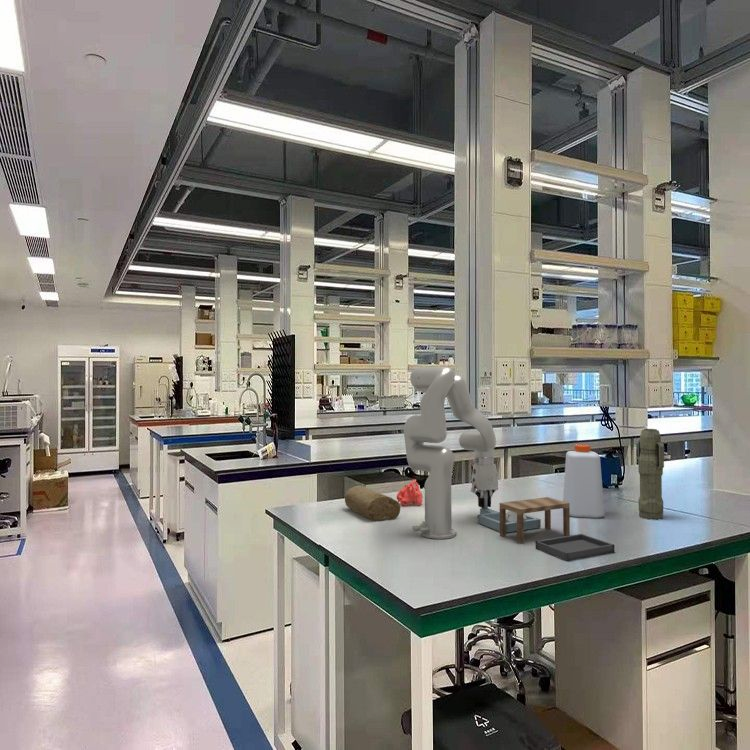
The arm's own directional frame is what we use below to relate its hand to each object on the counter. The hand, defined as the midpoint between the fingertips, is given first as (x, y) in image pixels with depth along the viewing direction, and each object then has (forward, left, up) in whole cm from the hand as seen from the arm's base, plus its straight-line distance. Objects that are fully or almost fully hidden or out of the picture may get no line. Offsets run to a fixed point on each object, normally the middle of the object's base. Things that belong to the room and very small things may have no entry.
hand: (484, 506), depth 226 cm
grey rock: (0, -19, -4) cm, 19 cm away
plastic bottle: (+39, -14, -4) cm, 42 cm away
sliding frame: (0, -11, -4) cm, 12 cm away
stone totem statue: (+59, -30, -4) cm, 66 cm away
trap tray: (0, -49, -4) cm, 49 cm away
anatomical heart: (-17, +31, -4) cm, 36 cm away
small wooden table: (0, -30, -4) cm, 30 cm away
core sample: (-39, +25, -5) cm, 47 cm away
